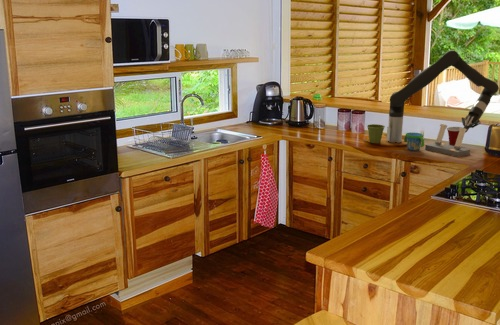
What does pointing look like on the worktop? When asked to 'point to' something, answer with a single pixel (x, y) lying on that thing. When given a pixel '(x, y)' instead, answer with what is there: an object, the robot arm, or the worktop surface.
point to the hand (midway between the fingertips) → (463, 131)
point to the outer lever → (460, 138)
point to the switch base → (447, 149)
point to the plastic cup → (453, 134)
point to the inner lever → (441, 134)
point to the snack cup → (414, 141)
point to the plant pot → (375, 132)
